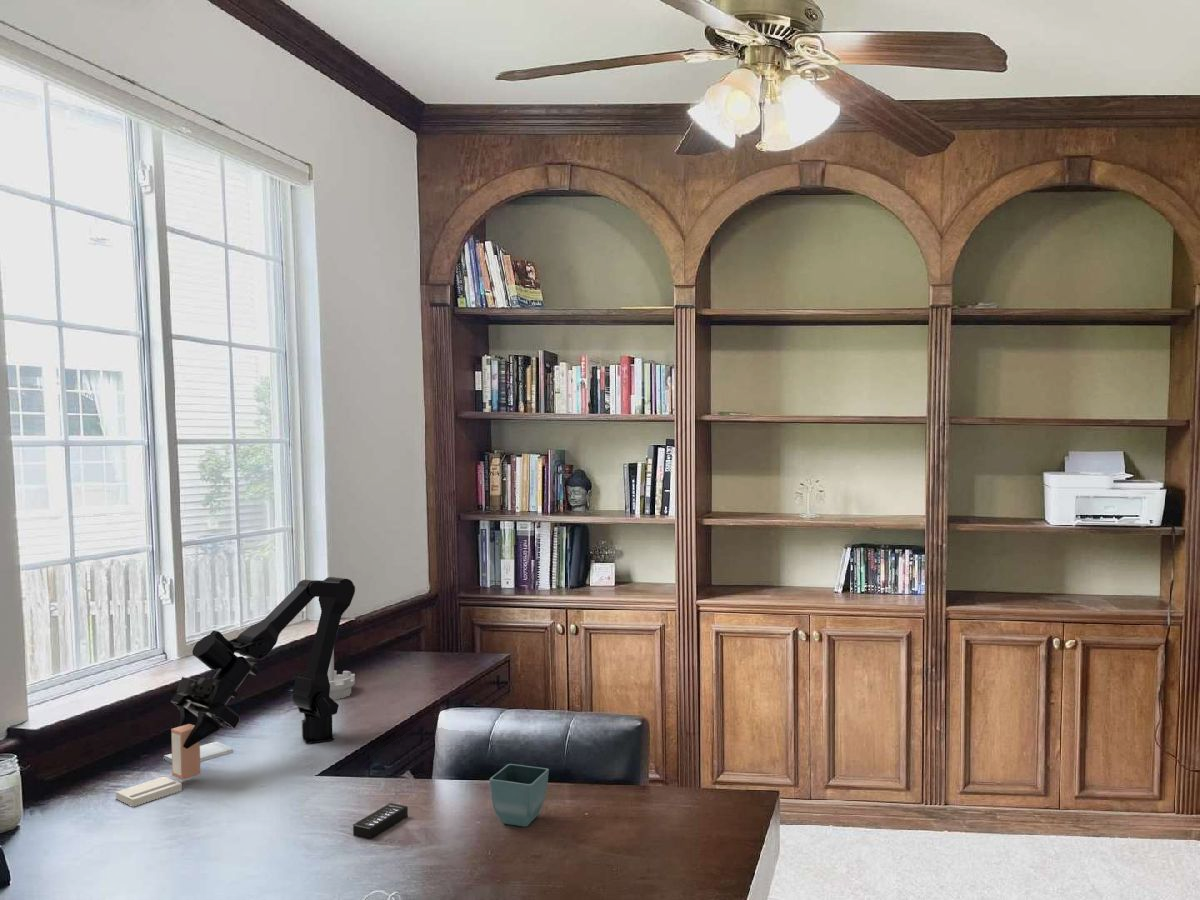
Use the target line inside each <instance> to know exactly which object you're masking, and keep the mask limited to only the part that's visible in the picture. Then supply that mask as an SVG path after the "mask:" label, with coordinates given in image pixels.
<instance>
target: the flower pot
mask: <svg viewBox="0 0 1200 900" xmlns="http://www.w3.org/2000/svg"><path fill="white" fill-rule="evenodd" d="M549 771H550V769H549V768H547V767H546V768H545V767H539V766H531V765H523V764H516V763H515V764H514V763H508V764H506V765H505V766H504V767H502V768H501V769H500V770H499V771H498V772H496V773H495V774H494V775H492V776H491V777H490V778H489V787H490V795H491V802H492V807H493V810H494V811H495V812H494V813H495V814H496V816H497V817H498V819H499V820H500V822H501V823H503V824H505V825H512V826H518V827H528V826H529V825H530V824H531V823H532V822H533V821H534V820H535V819H537V817H538V815H539V813H540V811H541V809H542V807H543V806H544V802H545V799H546V796H547V789H548V781H549V773H550V772H549Z"/></svg>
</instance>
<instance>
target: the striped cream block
mask: <svg viewBox="0 0 1200 900" xmlns="http://www.w3.org/2000/svg"><path fill="white" fill-rule="evenodd" d="M182 785H183V784H182V783H181V782H179V781H176V780H173V779H171V778H168V777H166V776H162V777H158V778H154V779H151V780H149V781H145V782H142V783H139V784H136V785H133V786H130V787H129V786H128V787H126V788H123V789H120V790H117V791H115V800H116V799H118V800H117V801H119V800H120V801H119V802H121V801H122V802H121V803H123V802H124V804H125V803H126V804H125V805H127V804H128V806H130V805H131V806H130V807H132V806H133V807H132V808H134V806H135V807H138V806H141V805H143V803H144V804H147V803H150V802H152V801H151V800H153V801H155V799H156V800H158V798H159V799H161V798H160V797H162V798H164V796H165V797H167V796H170V795H173V794H176V793H179V792H181V790H184V787H182ZM178 791H179V792H178ZM175 792H176V793H175ZM172 793H173V794H172ZM169 794H170V795H169ZM166 795H167V796H166ZM149 801H150V802H149ZM146 802H147V803H146ZM140 804H141V805H140ZM137 805H138V806H137Z"/></svg>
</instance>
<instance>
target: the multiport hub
mask: <svg viewBox="0 0 1200 900" xmlns="http://www.w3.org/2000/svg"><path fill="white" fill-rule="evenodd" d="M408 807H409V806H407V805H402V804H398V803H392V802H389V803H387V804H386V805H384V806H382V807H381V808H379V809H377V810H375V811H374V812H373V813H371V814H369V815H367V816H365V817H364V818H361V819H360V820H359V821H357V822H355V823H354V824H352V827H353V829H352V830H353V831H352V833H353V836H354V837H358V838H362V839H367V840H374V839H375V838H376V837H378V836H379V835H381V834H383V833H385V832H386V831H387V830H389V829H391V828H392V827H394V826H396V825H397V824H398V823H400V822H402V821H403V819H404V820H405V819H407V818H408V816H409V813H408V812H409V808H408ZM406 817H407V818H406ZM395 824H396V825H395Z"/></svg>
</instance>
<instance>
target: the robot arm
mask: <svg viewBox="0 0 1200 900" xmlns="http://www.w3.org/2000/svg"><path fill="white" fill-rule="evenodd" d="M355 593H356V586H355V584H354V582H353V581H352V580H351V579H349V578H345V577H335V576H329V577H326V578H325V579H323V580H317V579H315V580H313V579H312V580H311V579H310V580H309V579H302V580H300V581H299V582H298V583H297V584H296V587H295V588H294V589H293V590H292V591H291V592H289V594H288V595H287V596H286V597H284V599H283V600H282V601H281V602H280V603H279V604H278V605H276V607H275V608H273V610H271V612H270V613H269V614H268V615H267V616H266V617H265V618H264V619H262V620H261V621H259V622H257V623H254V624H252V625H251V626H249V627H247V628H246V629H245V630H243V631H242V632H240V633H239V635H238V636H237V637H235V638H232V639H230V640H228V639H227V638H226V637H224V635H223V634H222V632H220V631H219V630H212V631H211V633H210V634H207V635H206V636H203V638H201V639H200V640H198V641H197V642H196V643H195V644H194V647H193V648H192V653H191V654H192V656H194V657H195V658H196V659H198V660H199V662H201V663H203V664H204V665H205V666H206V667H207V668H209V669H210V670H211V671H216V670H217V671H216V673H215V674H214V676H213V677H210V676H208V677H200V678H199V679H198V680H196V679H193V678H188V677H185V676H184V677H183V676H182V677H181V678H180V681H179V684H178V687H177V689H176V692H177V693H175V694H174V696H172V698H171V700H170V702H171V703H172V704H173V705H175V706H176V707H177V709H178V710H179V713H180V718H179V722H178V725H177V727H180V726H183V725H187V724H191V725H195V726H194V728H193V730H192V731H191V733H190V734H189V736H188V738H187V739H186V741H185V743H184V745H183V747H185V748H186V749H188V748H189V747H191V746H192V745H194V744H196V743H197V742H199V741H200V742H201V741H202V740H204V739H205V738H206V737H209V736H211V735H212V734H214V733H216V732H217V731H220V730H223V729H224V727H225V726H226V727H227V728H229V729H232V730H236V728H237V726H238V725H239V724H240V722H241V715H239V714H238V713H237V712H236V711H235V710H234V709H232V708H231V707H229V706H228V705H227V704H228V702H229V701H230V700H231V698H234V699H236V698H237V697H238V696H239V694H238V692H237V690H238V688H240V686H241V684H242V683H243V682H244V680H245V679H246V677H247V676H249V675H248V674H250V675H253V676H258V675H259V673H260V672H259V668H258V662H254V661H249V660H248V659H246V657H247V658H251V659H256V660H262V659H264V658H266V657H267V656H268V655H269V654H270V653H271V651H273V649H274V647H275V646H276V644H277V643H278V639H279V636H280V634H281V633H282V631H283V630H284V629H285V628H286V627H287V626H288V625H289V624H290V623H291V622H292V621H293V620H294V619H295V618H296V616H298V615H299V613H301V611H303V609H304V608H305V607H307V606H308V604H309V603H310V602H311V601H312V600H313V599H314V598H317V597H318V602H319V603H318V604H319V607H320V610H321V611H320V616H319V619H318V624H317V628H316V632H315V636H314V640H313V644H312V649H311V651H310V652H311V653H310V656H309V660H308V665H307V668H306V671H305V672H304V673H303V675H302V676H299V675H298V676H296V677H295V678H294V685H293V688H292V690H291V692H290V693H291V694H292V701H293V704H295V706H296V707H297V709H298V711H299V712H298V713H301V714H303V719H301V738H302V740H303V741H304V742H305V744H307V745H308V744H315V743H321V742H323V743H324V742H328V741H329V740H330V741H333V740H335V738H334V735H333V715H336V714H337V713H338V710H339V704H338V703H337V702H336V701H335V700H332V699H331V698H330V697H329V695H330V683H329V679H328V669H329V665H330V661H331V657H332V653H333V649H334V650H335V645H336V644H335V643H336V641H337V635H338V631H339V628H340V623H341V619H342V616H343V614H344V613H345V612H346V610H347V609H348V608H349V607H350V606H351V604H352V601H353V599H354V596H355ZM236 654H238V655H240V656H237V655H236ZM224 723H225V726H223V724H224ZM330 741H329V742H330Z"/></svg>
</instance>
